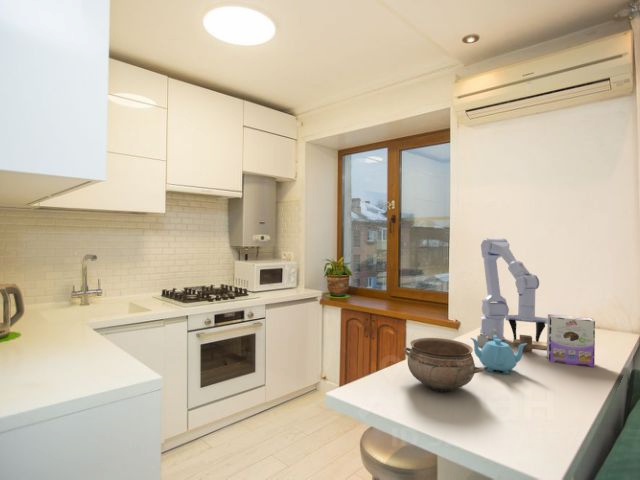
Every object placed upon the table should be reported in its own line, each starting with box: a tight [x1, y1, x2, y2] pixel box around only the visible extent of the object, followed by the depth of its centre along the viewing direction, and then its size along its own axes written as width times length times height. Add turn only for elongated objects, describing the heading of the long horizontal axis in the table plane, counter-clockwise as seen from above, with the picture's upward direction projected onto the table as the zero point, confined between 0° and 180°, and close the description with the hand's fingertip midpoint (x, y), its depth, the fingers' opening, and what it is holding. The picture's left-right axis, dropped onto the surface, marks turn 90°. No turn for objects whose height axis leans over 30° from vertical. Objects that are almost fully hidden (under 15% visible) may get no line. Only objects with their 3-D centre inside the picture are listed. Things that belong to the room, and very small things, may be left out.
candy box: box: [546, 313, 596, 368], centre depth 135 cm, size 14×6×16 cm, turn 65°
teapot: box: [470, 334, 527, 375], centre depth 127 cm, size 13×13×10 cm
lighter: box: [476, 329, 497, 348], centre depth 152 cm, size 7×2×8 cm, turn 46°
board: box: [513, 338, 547, 351], centre depth 154 cm, size 15×6×2 cm, turn 69°
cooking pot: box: [402, 337, 485, 393], centre depth 111 cm, size 25×19×12 cm
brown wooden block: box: [519, 334, 533, 354], centre depth 150 cm, size 4×8×6 cm, turn 159°
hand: (525, 340), depth 148 cm, fingers open, 7 cm apart
